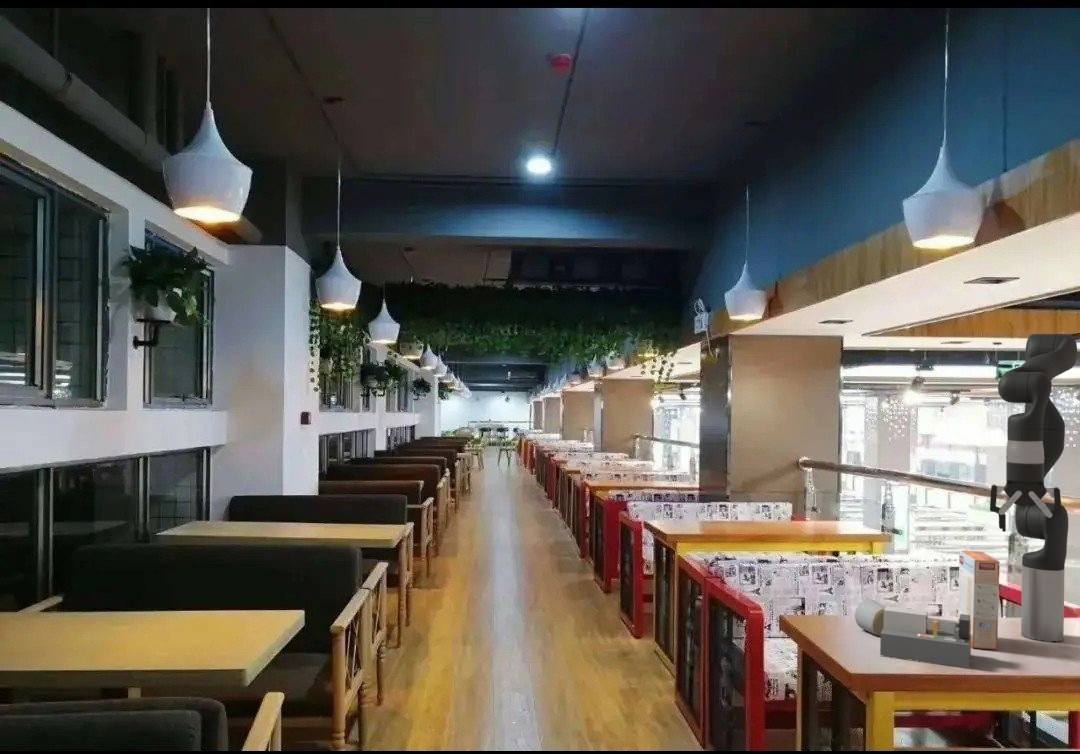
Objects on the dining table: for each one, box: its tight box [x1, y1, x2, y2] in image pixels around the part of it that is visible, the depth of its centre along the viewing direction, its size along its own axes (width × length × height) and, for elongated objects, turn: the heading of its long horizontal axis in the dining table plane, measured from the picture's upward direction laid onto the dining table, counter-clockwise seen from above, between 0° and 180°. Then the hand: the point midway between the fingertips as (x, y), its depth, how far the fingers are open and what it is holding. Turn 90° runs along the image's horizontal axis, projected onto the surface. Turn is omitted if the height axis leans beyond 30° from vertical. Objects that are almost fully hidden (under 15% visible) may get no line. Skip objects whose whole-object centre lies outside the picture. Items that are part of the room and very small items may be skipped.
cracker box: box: [957, 550, 1000, 651], centre depth 221 cm, size 14×6×21 cm, turn 168°
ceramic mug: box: [854, 598, 886, 637], centre depth 227 cm, size 11×8×8 cm
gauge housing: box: [879, 605, 972, 669], centre depth 208 cm, size 12×18×9 cm, turn 63°
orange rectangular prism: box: [933, 621, 937, 636], centre depth 204 cm, size 1×1×3 cm
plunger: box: [926, 614, 970, 640], centre depth 207 cm, size 9×11×4 cm
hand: (1025, 532), depth 207 cm, fingers open, 8 cm apart
